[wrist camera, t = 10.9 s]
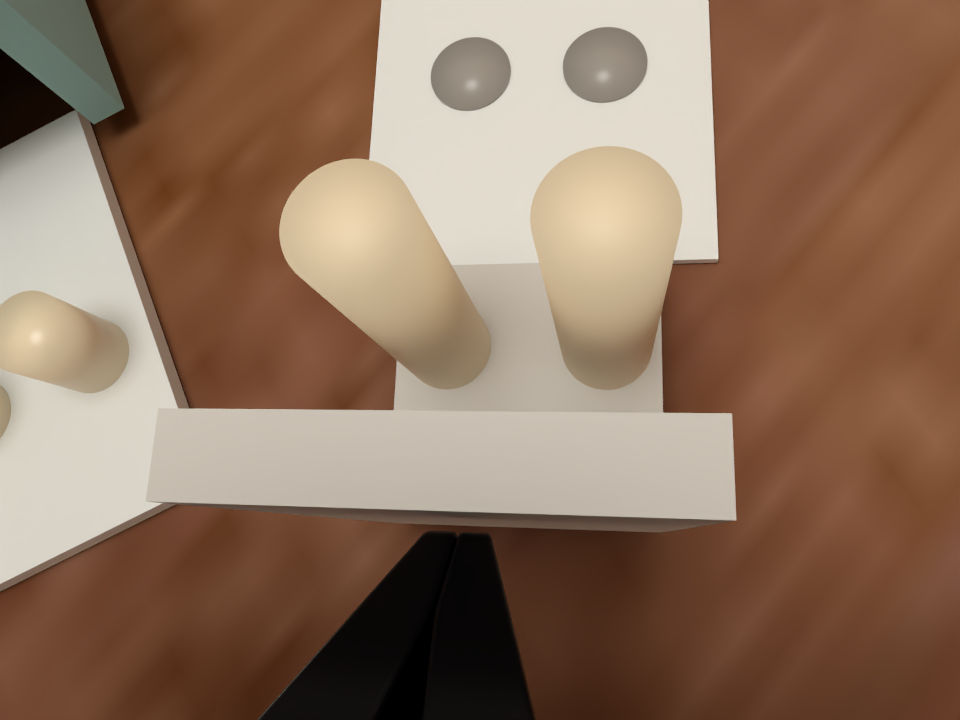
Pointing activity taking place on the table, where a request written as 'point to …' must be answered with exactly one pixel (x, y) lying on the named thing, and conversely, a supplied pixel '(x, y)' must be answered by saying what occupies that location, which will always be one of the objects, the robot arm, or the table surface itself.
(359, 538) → the table surface
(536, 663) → the table surface
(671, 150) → the pad
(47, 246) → the board
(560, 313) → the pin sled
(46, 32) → the housing
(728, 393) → the table surface
